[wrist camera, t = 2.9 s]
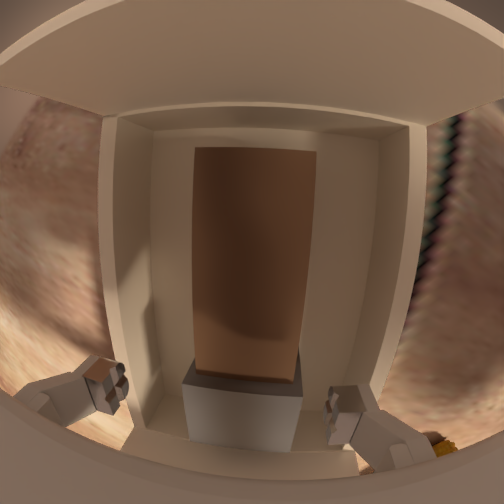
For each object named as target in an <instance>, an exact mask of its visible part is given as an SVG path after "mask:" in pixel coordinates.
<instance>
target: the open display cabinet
mask: <svg viewBox="0 0 504 504" xmlns="http://www.w3.org/2000/svg"><path fill="white" fill-rule="evenodd" d="M0 86H1V87H6V88H10V89H14V90H18V91H23V92H26V93H30V94H34V95H37V96H41V97H44V98H48V99H51V100H55V101H58V102H62V103H65V104H68V105H71V106H74V107H78V108H81V109H84V110H87V111H90V112H93V113H96V114H99V115H101V116H103V121H102V130H101V140H100V152H99V168H98V236H99V253H100V265H101V275H102V284H103V292H104V300H105V307H106V313H107V319H108V325H109V331H110V336H111V341H112V346H113V351H114V355H115V360H116V361H118V362H121V363H123V364H124V366H125V370H126V371H125V373H124V375H125V376H126V378H127V379H128V382H129V391H128V395H127V396H126V401H127V405H128V408H129V411H130V414H131V417H132V420H133V423H134V428H133V430H132V431H131V433H130V435H129V436H128V438H127V440H126V441H125V443H124V445H123V446H122V448H121V450H120V451H122V452H125V453H128V454H131V455H134V456H137V457H140V458H143V459H146V460H150V461H153V462H157V463H161V464H165V465H169V466H173V467H177V468H182V469H186V470H191V471H196V472H202V473H208V474H214V475H221V476H229V477H238V478H248V479H263V480H317V479H332V478H342V477H351V476H359V475H360V473H359V468H358V463H357V458H356V454H355V450H354V449H353V448H352V447H351V446H350V445H349V444H336V445H328V444H327V438H326V429H327V426H326V425H325V424H324V420H323V412H324V406H325V402H326V401H327V400H328V399H329V398H328V391H329V388H330V386H345V385H358V384H369V385H370V388H371V390H372V392H373V394H374V397H375V399H376V401H377V402H378V400H379V397H380V395H381V392H382V390H383V387H384V385H385V382H386V379H387V377H388V374H389V371H390V368H391V365H392V362H393V360H394V356H395V353H396V350H397V347H398V344H399V341H400V337H401V334H402V330H403V327H404V323H405V319H406V315H407V311H408V307H409V303H410V299H411V294H412V290H413V285H414V280H415V275H416V270H417V264H418V258H419V252H420V245H421V238H422V230H423V221H424V211H425V199H426V182H427V128H426V127H427V126H429V125H432V124H434V123H437V122H439V121H442V120H444V119H447V118H450V117H452V116H455V115H458V114H460V113H463V112H466V111H468V110H471V109H474V108H477V107H479V106H482V105H485V104H488V103H491V102H494V101H497V100H499V99H503V98H504V34H503V33H501V32H500V31H498V30H497V29H495V28H494V27H492V26H491V25H489V24H488V23H486V22H484V21H483V20H481V19H479V18H478V17H476V16H474V15H472V14H471V13H469V12H467V11H465V10H463V9H461V8H459V7H457V6H455V5H453V4H451V3H449V2H447V1H445V0H87V1H84V2H82V3H80V4H78V5H76V6H74V7H72V8H70V9H68V10H67V11H64V12H62V13H61V14H59V15H57V16H55V17H54V18H52V19H50V20H48V21H47V22H45V23H43V24H42V25H40V26H38V27H37V28H35V29H34V30H32V31H31V32H29V33H28V34H26V35H25V36H23V37H22V38H20V39H19V40H18V41H16V42H15V43H13V44H12V45H11V46H9V47H8V48H7V49H6V50H4V51H3V52H2V53H1V54H0ZM195 147H254V148H276V149H292V150H305V151H316V152H317V158H316V179H315V197H314V212H313V225H312V237H311V248H310V259H309V269H308V278H307V287H306V295H305V304H304V312H303V319H302V327H301V334H300V341H299V353H300V364H301V375H302V387H303V400H302V405H301V409H300V414H299V418H298V422H297V426H296V430H295V434H294V438H293V442H292V446H291V450H290V453H280V452H264V451H252V450H242V449H234V448H227V447H220V446H213V445H208V444H202V443H197V442H192V441H190V439H189V433H188V427H187V421H186V414H185V408H184V400H183V393H182V385H181V383H182V381H183V379H184V377H185V375H186V374H187V372H188V370H189V368H190V366H191V364H192V362H193V360H194V358H195V350H194V331H193V305H192V198H193V173H194V154H195Z"/></svg>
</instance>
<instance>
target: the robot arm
mask: <svg viewBox="0 0 504 504" xmlns="http://www.w3.org/2000/svg"><path fill="white" fill-rule="evenodd" d="M125 371H126V370H125V366H124V364H123V363H121V362H118V361H114V360H111V359H108V358H104V357H100V356H97V355H90V356H89V357H88V358H87V359H86V360H85V361H84V362H83V363H82V364H81V365H80V366H79V367H78V368H77V369H76V370H75V371H74V372H72V373H71V372H67V373H64V374H61V375H57V376H54V377H50V378H47V379H43V380H39V381H36V382H32V383H28V384H27V385H26V386H24V387H23V388H22V389H21V390H20V391H19V392H18V393H17V394H15V395H14V396H13V397H12V396H11V395H10V394H8V393H7V392H5V391H4V390H2V389H1V388H0V504H504V430H503V431H500V432H498V433H496V434H494V435H492V436H490V437H488V438H486V439H484V440H482V441H479V442H477V443H475V444H473V445H470V446H468V447H465V448H463V449H460V450H458V451H455V452H452V453H449V454H447V455H444V456H441V457H438V458H437V456H436V454H435V452H434V450H433V448H432V446H431V444H430V442H429V440H428V438H427V436H425V435H423V434H422V433H420V432H418V431H417V430H415V429H413V428H412V427H410V426H408V425H407V424H405V423H404V422H402V421H400V420H399V419H397V418H396V417H394V416H392V415H391V414H389V413H388V412H386V411H384V410H380V409H379V406H378V404H377V401H376V399H375V397H374V394H373V392H372V390H371V388H370V385H369V384H358V385H345V386H330V388H329V391H328V398H329V399H328V400H327V401H326V402H325V406H324V412H323V420H324V424H325V425H326V426H327V429H326V438H327V444H328V445H336V444H349V445H350V446H351V447H352V448H353V449H354V450H355V451H356V452H357V453H358V454H359V455H360V456H361V457H362V458H363V459H364V460H365V461H366V462H367V463H368V464H369V465H370V466H371V467H372V468H373V469H374V470H375V471H374V472H373V473H372V474H366V475H359V476H351V477H342V478H332V479H317V480H263V479H248V478H238V477H229V476H221V475H214V474H208V473H202V472H196V471H191V470H186V469H182V468H177V467H173V466H169V465H165V464H161V463H157V462H153V461H150V460H146V459H143V458H140V457H137V456H134V455H131V454H128V453H125V452H122V451H119V450H116V449H113V448H111V447H108V446H106V445H103V444H101V443H98V442H96V441H93V440H91V439H89V438H86V437H84V436H82V435H80V434H78V433H75V432H73V431H71V430H69V429H67V428H65V427H67V426H69V425H71V424H73V423H75V422H77V421H79V420H81V419H83V418H84V417H86V416H88V415H90V414H92V413H94V412H96V410H98V411H101V412H104V413H107V414H110V415H114V414H115V412H116V411H117V410H118V408H119V407H120V403H119V401H122V400H124V399H125V398H126V396H127V395H128V391H129V382H128V379H127V378H126V376H125V375H124V373H125Z"/></svg>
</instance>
